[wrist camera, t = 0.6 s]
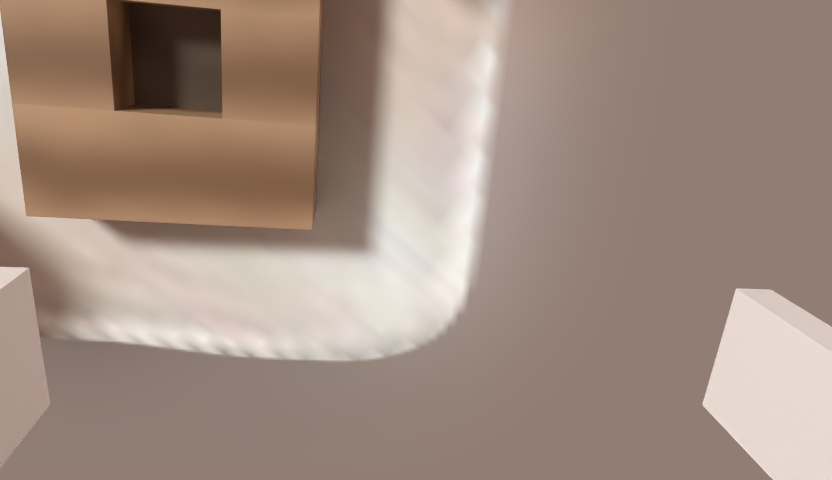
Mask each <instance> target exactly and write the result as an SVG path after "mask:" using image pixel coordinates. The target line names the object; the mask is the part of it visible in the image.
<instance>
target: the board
mask: <svg viewBox="0 0 832 480" xmlns="http://www.w3.org/2000/svg"><path fill="white" fill-rule="evenodd" d="M0 12H1V19H2V27H3V35H4V43H5V51H6V59H7V67H8V74H9V82H10V90H11V98H12V106H13V114H14V122H15V129H16V137H17V145H18V153H19V161H20V169H21V177H22V184H23V192H24V200H25V208H26V216H35V217H56V218H76V219H97V220H117V221H138V222H158V223H179V224H199V225H220V226H240V227H261V228H281V229H302V230H312V228H313V222H314V217H315V211H316V189H317V161H318V132H319V104H320V76H321V47H322V19H323V0H0Z"/></svg>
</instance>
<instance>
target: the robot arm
mask: <svg viewBox="0 0 832 480" xmlns="http://www.w3.org/2000/svg"><path fill="white" fill-rule="evenodd" d="M49 405H50V400H49V393H48V388H47V380H46V375H45V367H44V361H43V354H42V348H41V341H40V335H39V328H38V322H37V315H36V308H35V302H34V295H33V289H32V282H31V276H30V269H29V268H24V267H0V467H1V466H2V465H3V464H4V462H5V461H6V460H7V458H8V457H9V456H10V455H11V453H12V452H13V451H14V450H15V448H16V447H17V446H18V445H19V443H20V442H21V441H22V439H23V438H24V437H25V436H26V434H27V433H28V432H29V431H30V429H31V428H32V427H33V425H34V424H35V423H36V422H37V420H38V419H39V418H40V417H41V415H42V414H43V413H44V412H45V410H46V409H47V408H48V407H49ZM703 406H704V407H705V408H706V409H707V410H708V411H709V412H710V413H711V415H712V416H713V417H714V418H715V419H716V420H717V421H718V422H719V423H720V424H721V425H722V426H723V427H724V428H725V429H726V430H727V431H728V433H729V434H730V435H731V436H732V437H733V438H734V439H735V440H736V441H737V442H738V443H739V444H740V445H741V446H742V447H743V448H744V450H745V451H746V452H747V453H748V454H749V455H750V456H751V457H752V458H753V459H754V460H755V461H756V462H757V463H758V464H759V465H760V466H761V467H762V469H764V471H765V472H766V473H767V474H768V475H769V476H770V477H771V478H772V479H773V480H832V327H831V326H829V325H828V324H826V323H824V322H823V321H821V320H819V319H818V318H816V317H815V316H813V315H811V314H810V313H808V312H806V311H805V310H803V309H802V308H800V307H798V306H797V305H795V304H793V303H792V302H790V301H789V300H787V299H785V298H783V297H782V296H780V295H779V294H777V293H776V292H774V291H772V290H766V289H736V291H735V294H734V298H733V301H732V305H731V308H730V312H729V315H728V319H727V322H726V326H725V329H724V333H723V336H722V339H721V343H720V346H719V350H718V353H717V356H716V360H715V363H714V367H713V370H712V374H711V377H710V381H709V384H708V387H707V391H706V395H705V398H704V401H703Z"/></svg>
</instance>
